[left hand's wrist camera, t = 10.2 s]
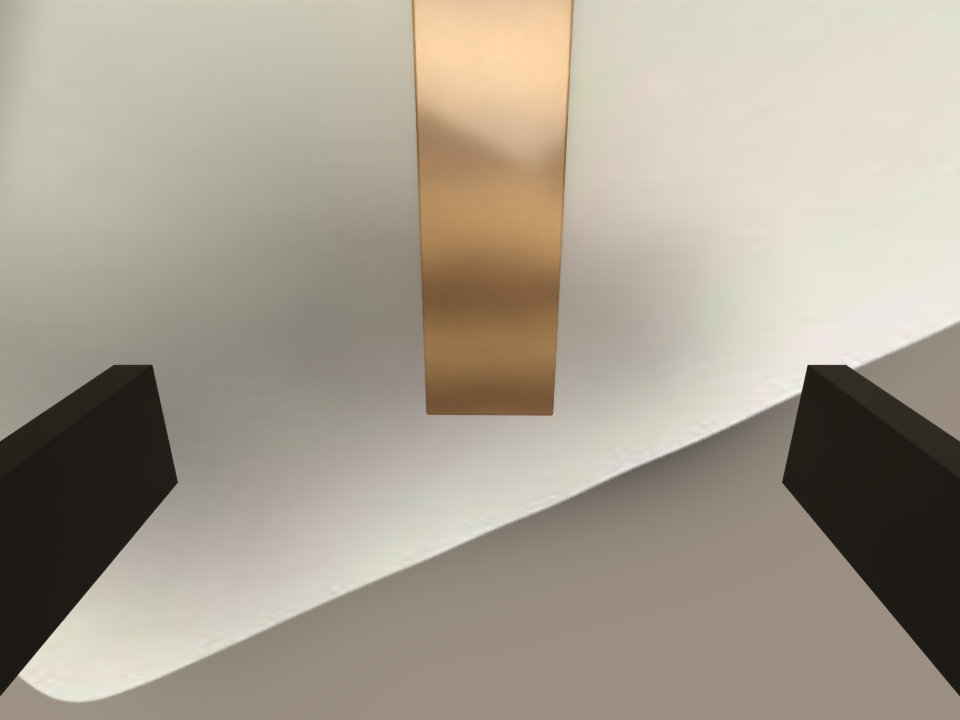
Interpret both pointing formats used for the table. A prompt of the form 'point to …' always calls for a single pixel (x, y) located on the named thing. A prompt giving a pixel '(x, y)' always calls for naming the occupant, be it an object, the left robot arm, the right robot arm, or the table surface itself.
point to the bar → (491, 199)
